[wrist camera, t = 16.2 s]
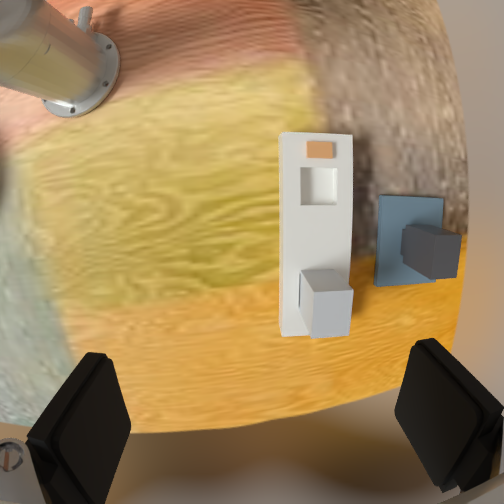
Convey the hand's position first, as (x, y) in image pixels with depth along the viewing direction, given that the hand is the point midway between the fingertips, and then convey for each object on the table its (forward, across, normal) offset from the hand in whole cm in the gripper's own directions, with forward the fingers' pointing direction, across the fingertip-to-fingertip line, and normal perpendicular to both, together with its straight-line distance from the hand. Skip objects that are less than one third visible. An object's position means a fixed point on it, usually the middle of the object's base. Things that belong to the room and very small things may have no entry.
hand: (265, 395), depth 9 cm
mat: (+30, -22, +2) cm, 37 cm away
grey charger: (+28, -8, +7) cm, 30 cm away
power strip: (+30, -8, +1) cm, 31 cm away
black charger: (+29, -22, +2) cm, 37 cm away
